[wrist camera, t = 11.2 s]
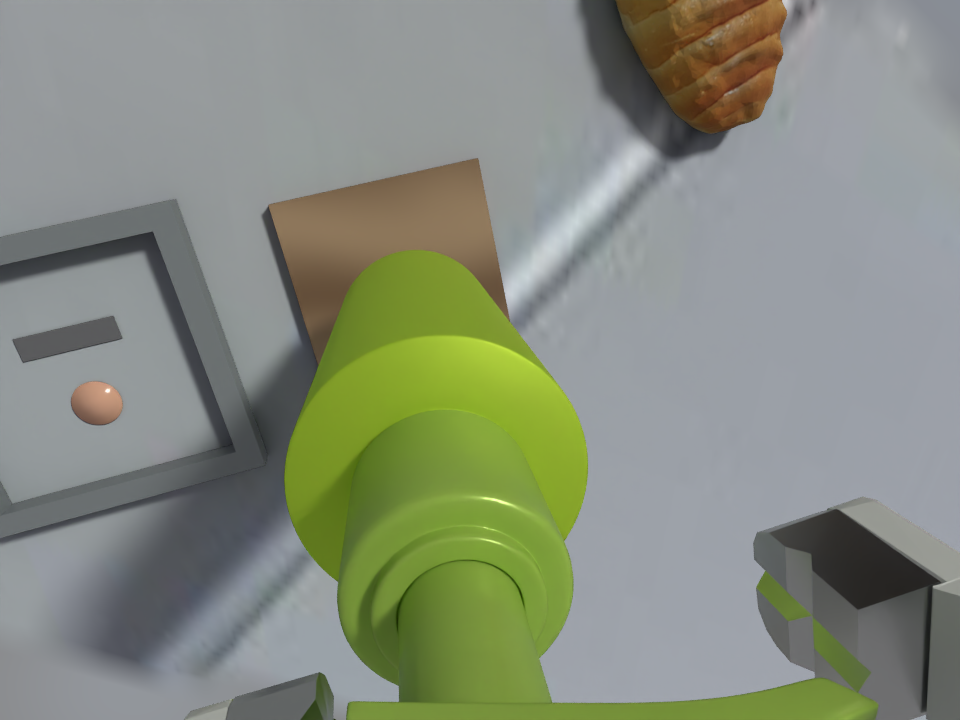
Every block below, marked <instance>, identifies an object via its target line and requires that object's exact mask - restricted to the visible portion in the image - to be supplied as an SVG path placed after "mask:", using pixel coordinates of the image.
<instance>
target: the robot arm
mask: <svg viewBox="0 0 960 720" xmlns="http://www.w3.org/2000/svg"><path fill="white" fill-rule="evenodd" d="M753 546H754V560H755V561H756V562H757V563H758V564H759V565H760V566H761V567H762V568H763V569H764V570H765V572H764V574H763V576H762V578H761V580H760V581H759V583H758V585H757V587H756V591H757V600H758V609H759V612H760V614H761V617H762V619H763V622H764V624H765V627H766V630H767V631H768V633H769V635H770V636H771V638H772V639H773V641H774V642H775V644H776V646H777V647H778V648H779V649H780V650H781V652H782V653H783V654H784V655H785V656H786V657H787V659H788V660H789V661H790V662H792V663H794V664H796V665H799V666H801V667H804V668H806V669H808V670H811V671H813V672H815V678H826V679H829V680H831V681H833V682H835V683H837V684H840V685H842V686H844V687H846V688H849V689H851V690H853V691H855V692H857V693H859V694H861V695H863V696H865V697H867V698H870V699H872V700H874V701H875V702H877V703H878V705H879V706H878V711H877V715H876V719H875V720H911V719H914V718H917V717H920V716H923V715H926V719H928V720H960V553H959V552H958V551H956V550H954V549H953V548H951V547H950V546H948V545H947V544H945V543H943V542H942V541H940V540H939V539H937V538H935V537H934V536H932V535H931V534H929V533H928V532H926V531H924V530H923V529H921V528H920V527H918V526H917V525H915V524H913V523H912V522H910V521H909V520H907V519H905V518H904V517H902V516H901V515H899V514H898V513H896V512H894V511H893V510H891V509H890V508H888V507H886V506H885V505H883V504H882V503H880V502H879V501H877V500H875V499H871V498H866V497H860V498H857V499H854V500H852V501H849V502H846V503H843V504H840V505H837V506H834V507H831V508H828V509H827V510H826V511H821V512H818V513H815V514H812V515H809V516H806V517H803V518H800V519H797V520H794V521H791V522H788V523H785V524H782V525H779V526H775V527H772V528H769V529H766V530H763V531H760V532H757V534H756V537H755V540H754V543H753ZM333 710H334V696H333V693H332V691H331V689H330V686H329V684H328V681H327V679H326V676H325V675H324V674H322V673H320V672H319V673H315V674H312V675H309V676H305V677H302V678H298V679H295V680H292V681H288V682H285V683H281V684H278V685H275V686H271V687H268V688H264V689H261V690H258V691H254V692H251V693H247V694H244V695H241V696H237V697H235V698H234V699H231V700H227V701H223V702H220V703H217V704H213V705H210V706H206V707H203V708H199V709H196V710H193V711H191V712H190V713H189V714H188V716H187V717H186V718H185V719H184V720H335V719H333Z"/></svg>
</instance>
